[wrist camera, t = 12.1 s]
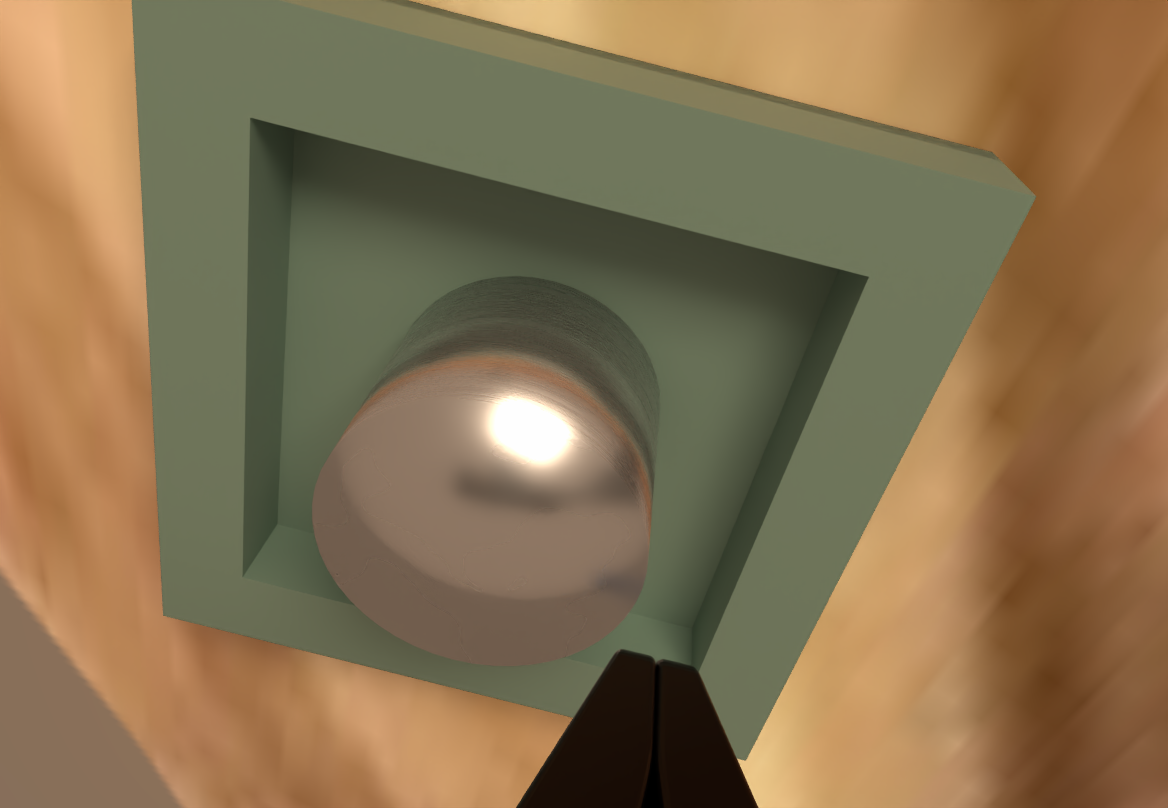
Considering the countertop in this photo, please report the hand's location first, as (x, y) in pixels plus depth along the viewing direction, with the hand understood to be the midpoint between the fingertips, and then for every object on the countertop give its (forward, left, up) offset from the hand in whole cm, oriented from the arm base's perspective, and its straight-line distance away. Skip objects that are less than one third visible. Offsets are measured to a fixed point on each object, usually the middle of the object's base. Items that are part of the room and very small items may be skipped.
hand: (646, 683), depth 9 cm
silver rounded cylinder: (+2, +4, -10) cm, 11 cm away
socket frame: (+3, +4, -11) cm, 12 cm away
